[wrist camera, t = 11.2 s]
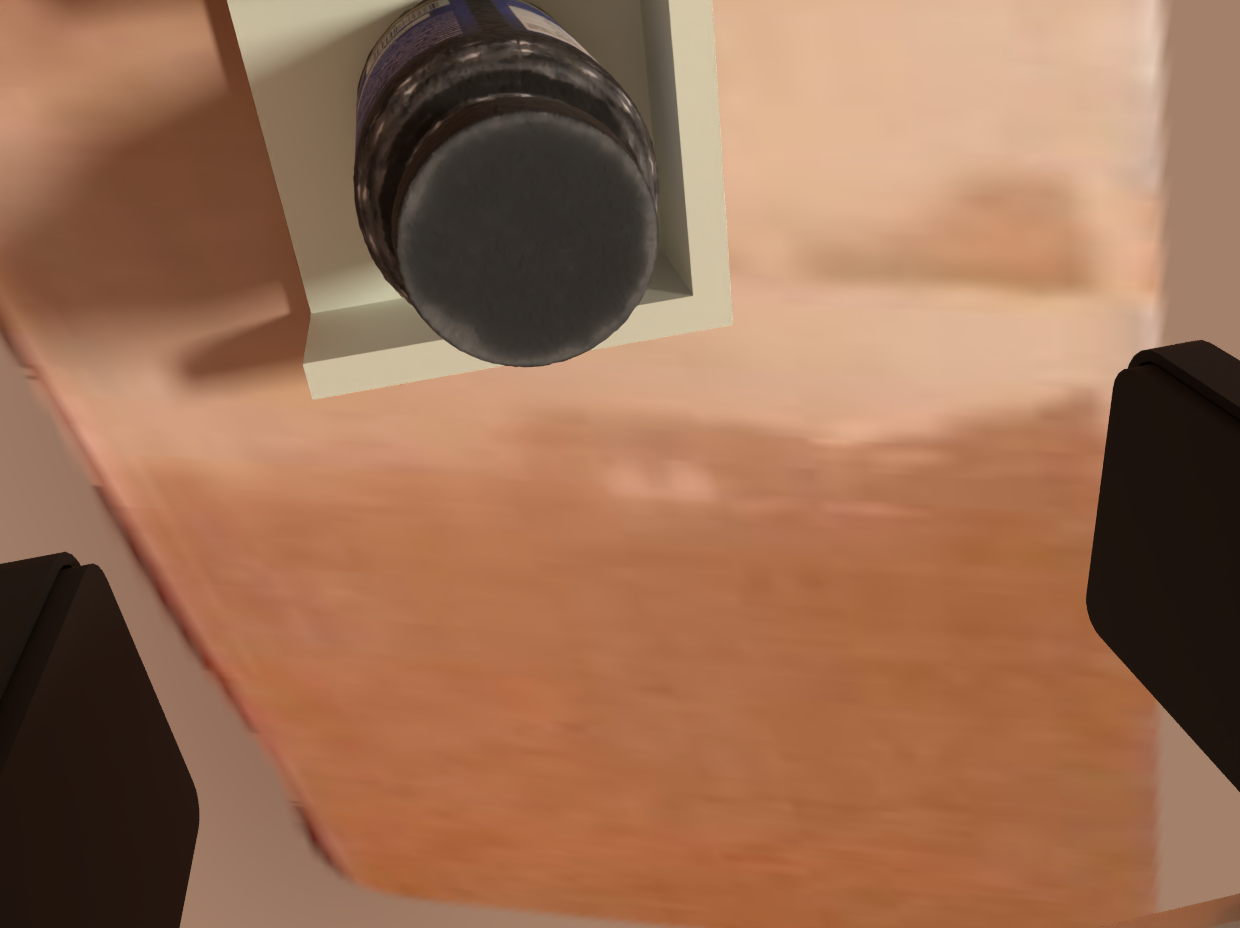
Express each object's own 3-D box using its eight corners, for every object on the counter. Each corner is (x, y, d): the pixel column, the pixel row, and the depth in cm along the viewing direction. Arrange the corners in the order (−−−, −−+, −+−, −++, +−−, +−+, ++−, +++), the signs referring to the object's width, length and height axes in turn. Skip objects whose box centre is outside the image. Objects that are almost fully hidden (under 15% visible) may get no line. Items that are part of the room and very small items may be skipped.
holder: (206, -90, 26) (177, -81, 23) (661, -150, 27) (702, -150, 24) (320, 338, 32) (312, 399, 28) (695, 273, 33) (732, 324, 29)
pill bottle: (381, 241, 30) (382, 428, 20) (333, -2, 27) (309, 89, 17) (604, 210, 31) (706, 377, 21) (583, -29, 28) (691, 44, 18)
